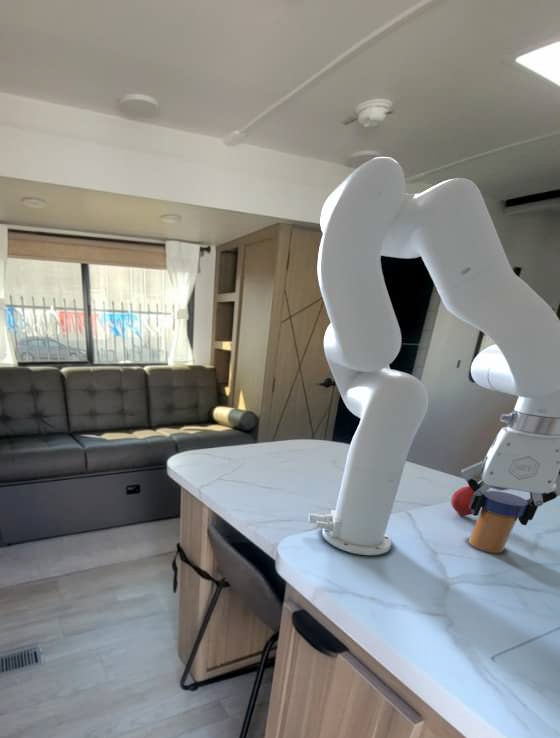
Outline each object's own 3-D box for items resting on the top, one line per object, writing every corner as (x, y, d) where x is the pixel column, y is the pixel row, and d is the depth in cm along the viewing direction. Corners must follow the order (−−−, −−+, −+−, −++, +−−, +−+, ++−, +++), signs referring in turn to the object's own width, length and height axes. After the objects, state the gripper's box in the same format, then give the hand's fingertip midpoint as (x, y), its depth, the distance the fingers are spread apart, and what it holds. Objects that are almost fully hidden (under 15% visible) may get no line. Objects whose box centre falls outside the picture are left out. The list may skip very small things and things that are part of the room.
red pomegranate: (453, 508, 95) (465, 476, 92) (481, 517, 91) (494, 484, 87) (441, 513, 92) (453, 481, 89) (469, 524, 88) (482, 490, 84)
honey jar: (476, 550, 77) (494, 506, 73) (463, 537, 82) (480, 494, 78) (508, 554, 76) (529, 509, 72) (494, 540, 81) (512, 497, 77)
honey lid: (533, 514, 74) (538, 503, 73) (505, 518, 72) (510, 507, 71) (496, 499, 80) (500, 489, 79) (470, 503, 78) (474, 492, 77)
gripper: (479, 421, 69) (446, 515, 77) (613, 436, 62) (561, 537, 70) (473, 414, 75) (443, 501, 83) (594, 426, 69) (549, 520, 76)
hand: (497, 516), depth 77 cm, fingers closed on honey lid, 6 cm apart
